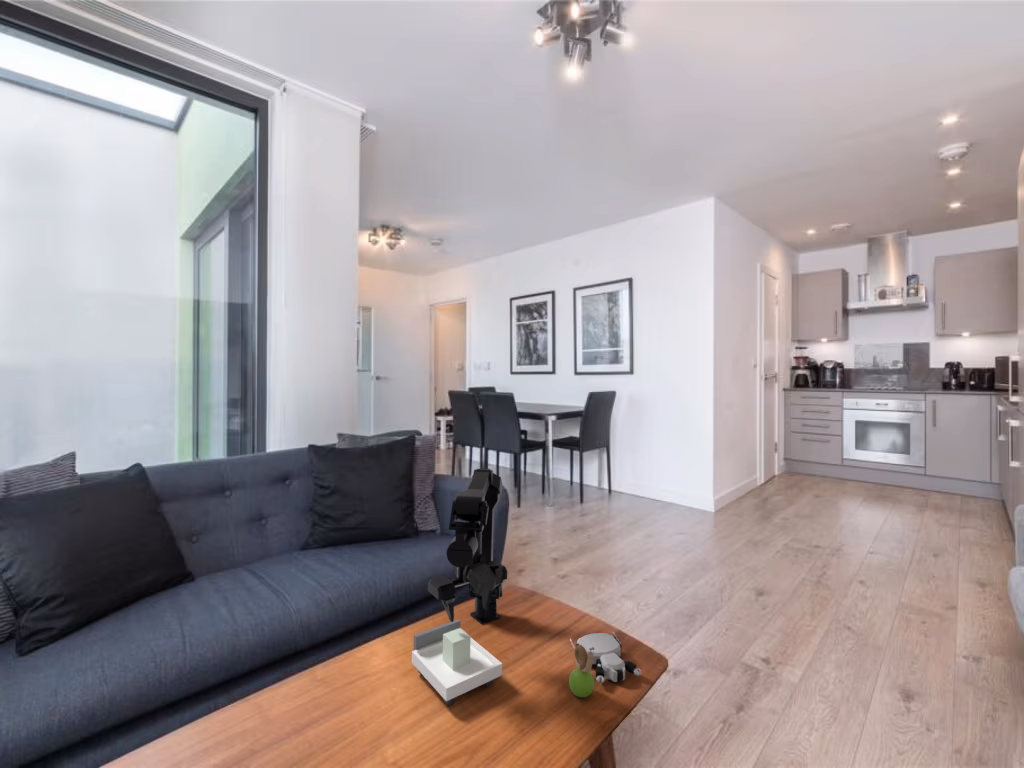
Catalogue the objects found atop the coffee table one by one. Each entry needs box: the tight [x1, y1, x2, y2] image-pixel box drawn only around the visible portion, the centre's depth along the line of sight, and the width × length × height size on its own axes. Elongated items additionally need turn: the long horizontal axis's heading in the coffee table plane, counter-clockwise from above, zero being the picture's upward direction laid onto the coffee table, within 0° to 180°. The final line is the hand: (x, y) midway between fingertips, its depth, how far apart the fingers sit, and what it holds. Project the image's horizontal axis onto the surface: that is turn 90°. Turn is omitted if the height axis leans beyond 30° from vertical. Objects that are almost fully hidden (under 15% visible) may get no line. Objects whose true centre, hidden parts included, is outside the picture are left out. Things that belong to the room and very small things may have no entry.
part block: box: [443, 628, 471, 670], centre depth 104 cm, size 4×4×6 cm
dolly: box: [411, 618, 503, 707], centre depth 105 cm, size 17×14×8 cm
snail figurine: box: [568, 645, 595, 699], centre depth 99 cm, size 5×6×12 cm
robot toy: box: [569, 631, 643, 684], centre depth 110 cm, size 12×4×15 cm
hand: (468, 614), depth 108 cm, fingers open, 9 cm apart
